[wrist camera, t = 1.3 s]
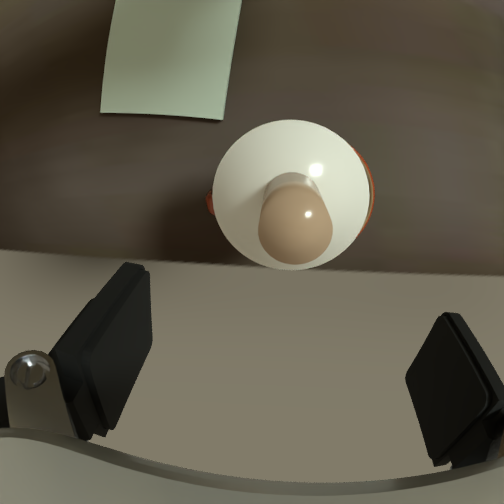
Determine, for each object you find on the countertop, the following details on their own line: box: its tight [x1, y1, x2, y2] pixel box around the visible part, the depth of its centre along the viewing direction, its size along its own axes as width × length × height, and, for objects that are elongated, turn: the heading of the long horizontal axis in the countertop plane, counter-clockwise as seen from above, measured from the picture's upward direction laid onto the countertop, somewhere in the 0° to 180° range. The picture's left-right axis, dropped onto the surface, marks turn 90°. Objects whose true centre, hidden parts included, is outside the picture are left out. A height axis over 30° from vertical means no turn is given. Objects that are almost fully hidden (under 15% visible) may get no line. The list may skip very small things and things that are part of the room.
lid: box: [212, 119, 370, 270], centre depth 18 cm, size 10×10×6 cm
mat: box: [100, 0, 242, 120], centre depth 25 cm, size 13×13×1 cm
